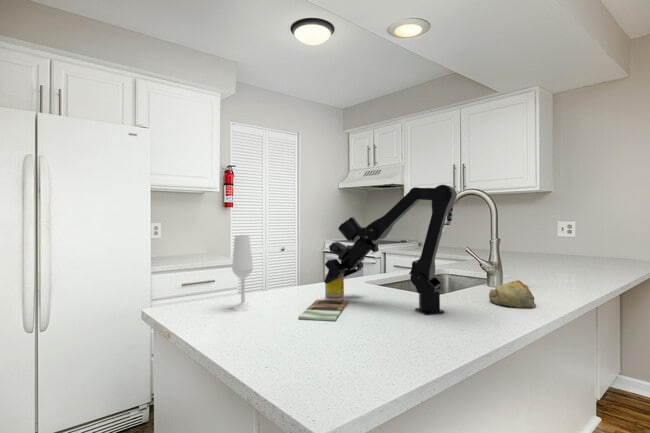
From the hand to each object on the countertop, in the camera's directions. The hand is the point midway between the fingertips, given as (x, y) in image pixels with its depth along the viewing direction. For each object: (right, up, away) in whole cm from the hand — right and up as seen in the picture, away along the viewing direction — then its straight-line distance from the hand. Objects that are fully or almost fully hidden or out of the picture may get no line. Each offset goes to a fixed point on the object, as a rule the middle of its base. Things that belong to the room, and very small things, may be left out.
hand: (331, 280), depth 133 cm
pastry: (+60, -6, -10) cm, 61 cm away
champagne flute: (-29, -7, -11) cm, 32 cm away
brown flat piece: (-2, -7, -15) cm, 17 cm away
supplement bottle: (+1, -7, -1) cm, 7 cm away
